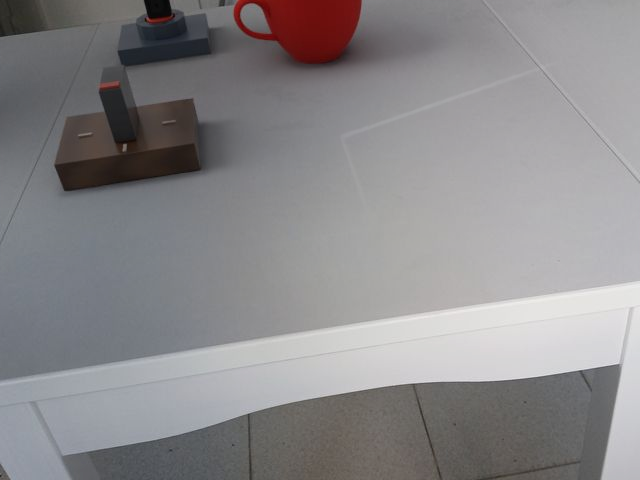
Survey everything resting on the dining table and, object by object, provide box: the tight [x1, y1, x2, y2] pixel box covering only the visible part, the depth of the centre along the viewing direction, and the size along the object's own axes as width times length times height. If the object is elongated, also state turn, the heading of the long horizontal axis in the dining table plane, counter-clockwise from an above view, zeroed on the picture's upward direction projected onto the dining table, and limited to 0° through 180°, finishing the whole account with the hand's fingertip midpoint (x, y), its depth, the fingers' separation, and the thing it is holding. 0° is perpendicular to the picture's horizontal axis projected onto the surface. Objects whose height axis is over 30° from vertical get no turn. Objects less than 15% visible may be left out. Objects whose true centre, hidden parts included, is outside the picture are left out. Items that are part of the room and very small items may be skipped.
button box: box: [116, 8, 212, 67], centre depth 100 cm, size 12×10×4 cm
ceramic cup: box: [232, 0, 363, 64], centre depth 91 cm, size 13×17×10 cm
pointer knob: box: [97, 64, 139, 143], centre depth 74 cm, size 6×2×6 cm, turn 10°
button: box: [146, 14, 174, 23], centre depth 99 cm, size 4×4×2 cm
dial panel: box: [53, 97, 202, 192], centre depth 77 cm, size 14×11×3 cm
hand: (160, 15), depth 98 cm, fingers closed
